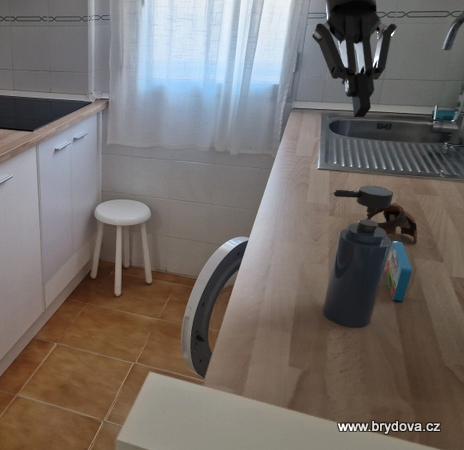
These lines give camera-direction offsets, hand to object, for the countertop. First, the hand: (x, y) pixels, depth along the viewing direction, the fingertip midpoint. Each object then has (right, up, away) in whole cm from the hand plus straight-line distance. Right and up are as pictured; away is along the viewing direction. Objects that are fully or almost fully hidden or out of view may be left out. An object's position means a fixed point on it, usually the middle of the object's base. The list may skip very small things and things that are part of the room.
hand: (362, 112), depth 85 cm
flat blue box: (+12, -29, +11) cm, 33 cm away
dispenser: (-2, -33, +2) cm, 33 cm away
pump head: (-3, -16, -5) cm, 17 cm away
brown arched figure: (+22, -20, +30) cm, 43 cm away
